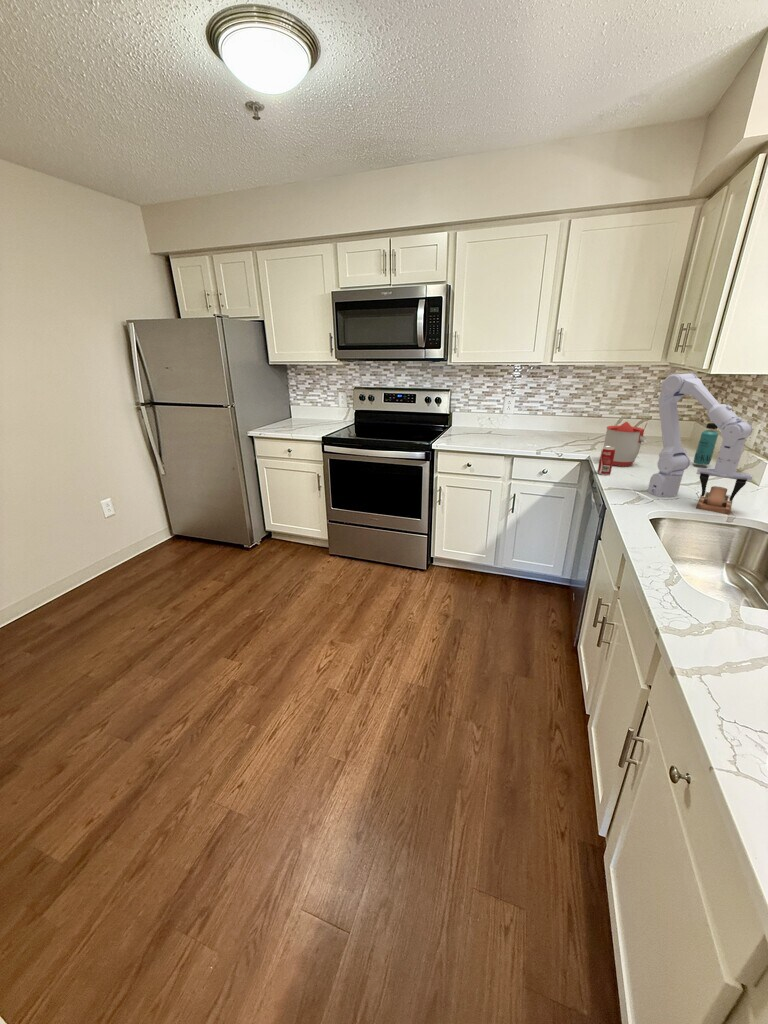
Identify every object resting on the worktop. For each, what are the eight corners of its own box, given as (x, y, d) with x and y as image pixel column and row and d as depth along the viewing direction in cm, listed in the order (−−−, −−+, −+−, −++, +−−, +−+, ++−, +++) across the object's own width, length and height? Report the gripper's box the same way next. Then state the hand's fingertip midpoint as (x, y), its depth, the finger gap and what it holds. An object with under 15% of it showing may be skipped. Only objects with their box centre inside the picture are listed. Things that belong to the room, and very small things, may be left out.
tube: (713, 510, 143) (719, 490, 140) (702, 505, 147) (708, 486, 144) (724, 509, 143) (730, 490, 141) (713, 505, 147) (719, 486, 145)
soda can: (599, 471, 190) (604, 445, 185) (611, 473, 187) (617, 446, 182) (595, 474, 186) (600, 447, 181) (608, 476, 183) (614, 449, 178)
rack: (729, 517, 139) (731, 510, 138) (694, 510, 145) (696, 504, 144) (731, 502, 152) (733, 495, 151) (700, 496, 158) (702, 490, 157)
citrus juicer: (635, 470, 191) (645, 426, 183) (595, 464, 202) (603, 422, 194) (644, 463, 201) (654, 421, 194) (605, 457, 212) (613, 417, 205)
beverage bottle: (693, 463, 201) (705, 421, 194) (710, 466, 197) (723, 423, 189) (690, 466, 197) (702, 423, 190) (707, 469, 192) (720, 425, 185)
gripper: (700, 457, 140) (689, 496, 145) (756, 465, 131) (743, 505, 136) (702, 453, 145) (692, 491, 150) (756, 460, 136) (744, 499, 141)
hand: (716, 497), depth 144 cm, fingers open, 7 cm apart
